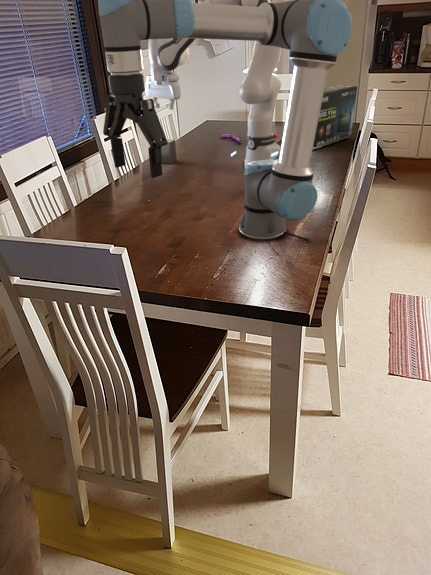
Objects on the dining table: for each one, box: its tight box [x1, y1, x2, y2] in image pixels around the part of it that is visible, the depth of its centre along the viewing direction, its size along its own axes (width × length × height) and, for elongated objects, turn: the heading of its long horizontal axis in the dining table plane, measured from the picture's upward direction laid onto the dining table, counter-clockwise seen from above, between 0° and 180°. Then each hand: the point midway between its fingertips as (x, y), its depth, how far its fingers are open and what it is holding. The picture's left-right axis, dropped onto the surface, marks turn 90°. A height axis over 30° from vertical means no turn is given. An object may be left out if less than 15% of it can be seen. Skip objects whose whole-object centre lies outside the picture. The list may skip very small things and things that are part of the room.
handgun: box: [220, 133, 243, 145], centre depth 256 cm, size 21×8×2 cm, turn 11°
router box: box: [313, 84, 358, 147], centre depth 238 cm, size 36×11×27 cm, turn 134°
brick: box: [161, 138, 177, 165], centre depth 222 cm, size 5×6×10 cm
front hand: (138, 171), depth 109 cm, fingers open, 13 cm apart
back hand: (164, 108), depth 212 cm, fingers open, 8 cm apart
